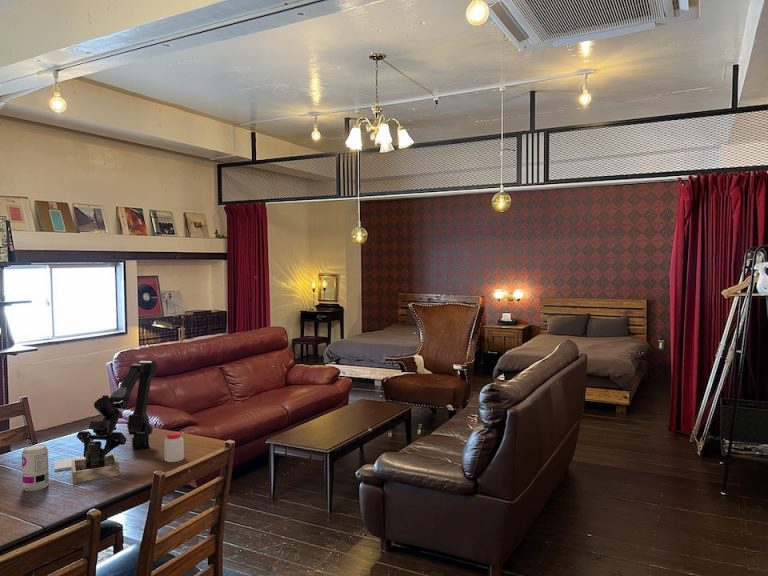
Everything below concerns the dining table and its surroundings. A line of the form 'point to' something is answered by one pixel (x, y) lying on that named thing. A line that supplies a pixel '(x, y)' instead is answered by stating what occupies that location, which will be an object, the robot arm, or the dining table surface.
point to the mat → (65, 463)
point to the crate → (95, 469)
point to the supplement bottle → (94, 455)
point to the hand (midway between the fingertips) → (92, 457)
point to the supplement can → (35, 467)
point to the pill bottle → (174, 447)
